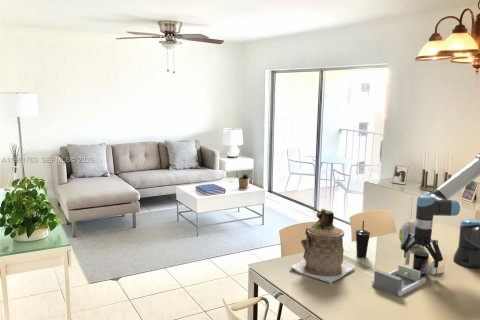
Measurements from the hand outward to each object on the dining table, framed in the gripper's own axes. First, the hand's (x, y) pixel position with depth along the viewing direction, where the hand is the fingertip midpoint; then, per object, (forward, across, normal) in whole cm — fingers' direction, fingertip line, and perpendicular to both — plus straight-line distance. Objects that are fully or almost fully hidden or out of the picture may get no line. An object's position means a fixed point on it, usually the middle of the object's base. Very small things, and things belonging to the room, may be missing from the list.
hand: (419, 268), depth 201 cm
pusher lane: (+3, 0, -19) cm, 19 cm away
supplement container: (+3, 0, 0) cm, 3 cm away
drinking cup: (+3, -31, -4) cm, 31 cm away
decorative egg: (+3, -24, +34) cm, 42 cm away
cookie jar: (+3, -32, -35) cm, 47 cm away
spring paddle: (+2, 0, -13) cm, 13 cm away
